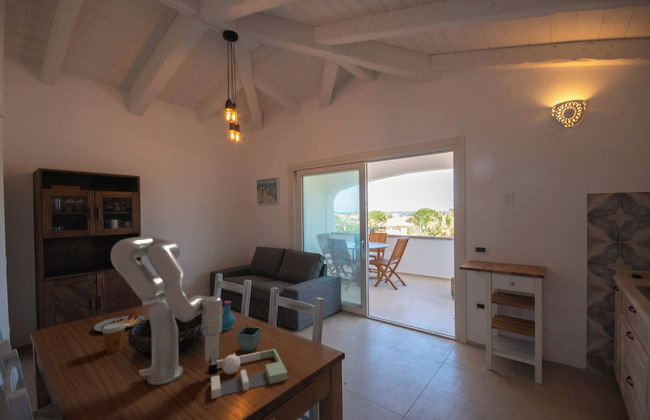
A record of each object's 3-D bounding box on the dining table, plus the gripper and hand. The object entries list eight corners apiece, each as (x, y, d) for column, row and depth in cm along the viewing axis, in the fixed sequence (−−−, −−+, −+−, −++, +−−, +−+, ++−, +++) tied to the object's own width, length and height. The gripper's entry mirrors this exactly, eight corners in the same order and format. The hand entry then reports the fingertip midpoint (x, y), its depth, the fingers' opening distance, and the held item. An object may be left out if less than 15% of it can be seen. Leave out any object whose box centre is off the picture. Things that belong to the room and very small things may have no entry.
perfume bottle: (238, 326, 165) (238, 300, 165) (225, 332, 157) (225, 305, 157) (228, 323, 170) (228, 298, 170) (215, 328, 162) (215, 302, 162)
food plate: (143, 315, 185) (142, 310, 185) (148, 326, 167) (148, 320, 167) (93, 325, 169) (93, 319, 169) (94, 338, 151) (93, 332, 151)
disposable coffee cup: (129, 344, 144) (129, 320, 144) (120, 353, 135) (120, 328, 135) (107, 346, 141) (107, 322, 142) (97, 356, 132) (97, 330, 132)
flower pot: (254, 354, 132) (253, 335, 132) (236, 352, 134) (236, 333, 134) (261, 345, 141) (261, 327, 141) (245, 344, 143) (245, 326, 143)
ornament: (218, 373, 117) (224, 352, 122) (235, 376, 119) (241, 355, 124) (221, 372, 112) (227, 350, 116) (239, 375, 114) (244, 353, 119)
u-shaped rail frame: (211, 398, 101) (211, 390, 101) (210, 368, 120) (210, 361, 120) (287, 379, 112) (287, 372, 112) (275, 355, 131) (275, 348, 131)
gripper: (202, 323, 120) (202, 366, 120) (202, 337, 106) (202, 386, 106) (221, 320, 123) (221, 362, 123) (223, 333, 109) (223, 381, 109)
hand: (212, 373), depth 115 cm, fingers closed
